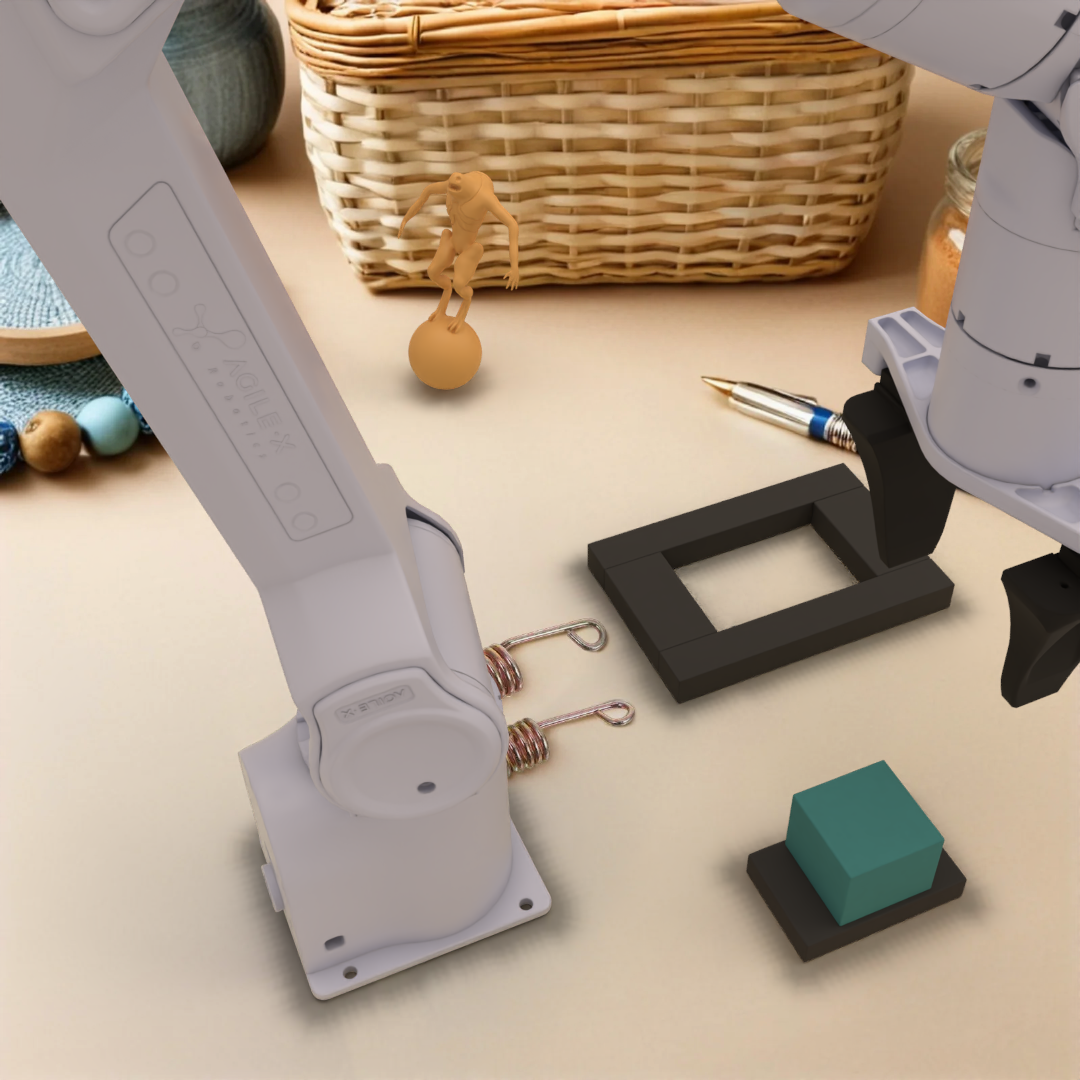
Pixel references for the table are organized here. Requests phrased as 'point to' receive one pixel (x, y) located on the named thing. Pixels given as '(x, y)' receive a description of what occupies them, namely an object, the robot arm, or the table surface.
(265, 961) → the table surface
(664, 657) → the dark rectangular frame
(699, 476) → the table surface
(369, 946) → the robot arm
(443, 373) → the figurine
